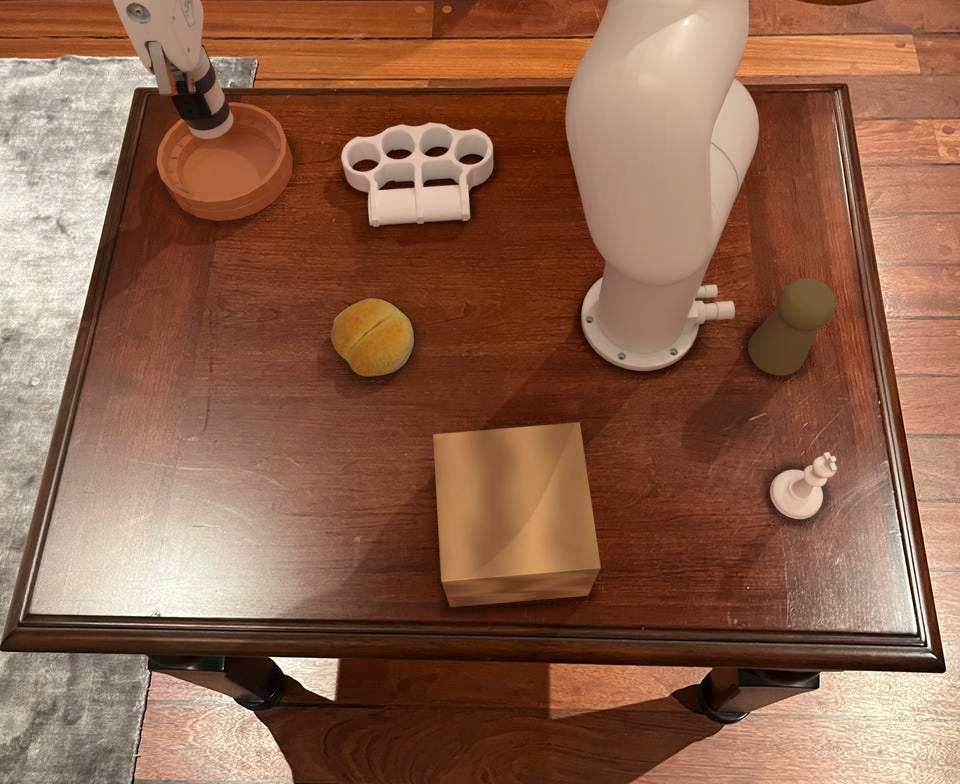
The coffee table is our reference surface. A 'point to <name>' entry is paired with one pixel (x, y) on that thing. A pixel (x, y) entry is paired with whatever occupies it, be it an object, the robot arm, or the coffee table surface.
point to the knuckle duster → (418, 172)
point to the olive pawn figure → (792, 326)
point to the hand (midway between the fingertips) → (199, 95)
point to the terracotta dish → (227, 166)
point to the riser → (514, 515)
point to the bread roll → (373, 337)
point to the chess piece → (802, 488)
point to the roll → (208, 101)
